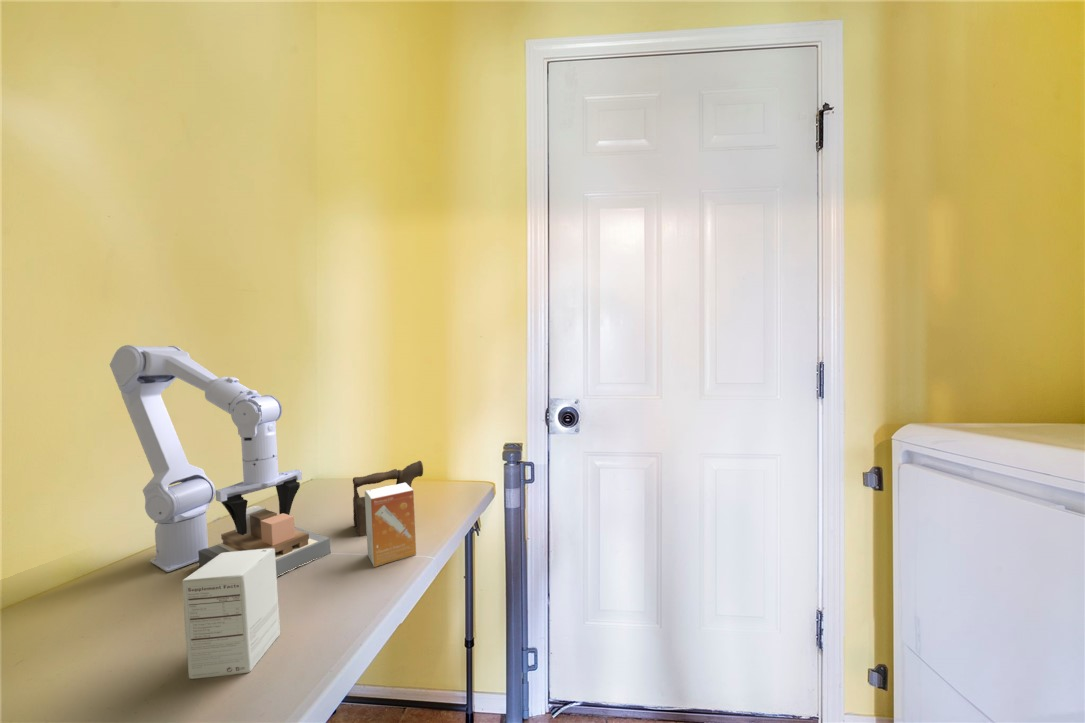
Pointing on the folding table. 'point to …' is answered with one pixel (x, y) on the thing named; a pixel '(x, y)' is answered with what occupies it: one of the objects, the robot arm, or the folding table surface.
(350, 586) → the folding table surface
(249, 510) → the block
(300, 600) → the folding table surface
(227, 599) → the supplement box
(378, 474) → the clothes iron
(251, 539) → the pallet
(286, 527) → the block
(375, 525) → the small box
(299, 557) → the dock
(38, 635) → the folding table surface
